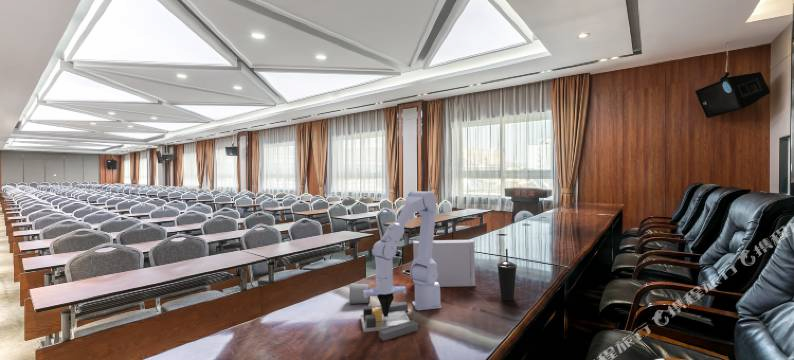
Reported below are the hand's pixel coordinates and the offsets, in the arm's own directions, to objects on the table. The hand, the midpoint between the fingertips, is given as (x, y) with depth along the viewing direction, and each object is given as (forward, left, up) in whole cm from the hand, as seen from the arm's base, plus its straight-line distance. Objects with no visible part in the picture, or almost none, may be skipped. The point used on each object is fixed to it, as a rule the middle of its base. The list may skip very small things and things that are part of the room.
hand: (385, 315), depth 121 cm
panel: (0, 0, -2) cm, 2 cm away
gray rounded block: (+7, -22, -3) cm, 23 cm away
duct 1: (-3, -8, -3) cm, 9 cm away
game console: (-32, -33, -3) cm, 46 cm away
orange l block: (+3, 0, -1) cm, 3 cm away
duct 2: (-3, +9, -3) cm, 10 cm away
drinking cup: (-51, -10, -3) cm, 52 cm away
